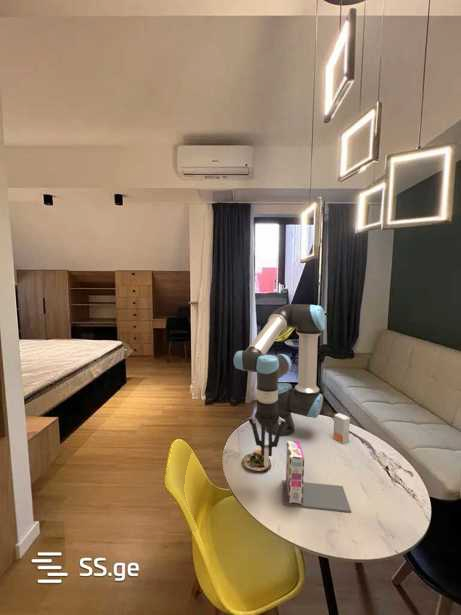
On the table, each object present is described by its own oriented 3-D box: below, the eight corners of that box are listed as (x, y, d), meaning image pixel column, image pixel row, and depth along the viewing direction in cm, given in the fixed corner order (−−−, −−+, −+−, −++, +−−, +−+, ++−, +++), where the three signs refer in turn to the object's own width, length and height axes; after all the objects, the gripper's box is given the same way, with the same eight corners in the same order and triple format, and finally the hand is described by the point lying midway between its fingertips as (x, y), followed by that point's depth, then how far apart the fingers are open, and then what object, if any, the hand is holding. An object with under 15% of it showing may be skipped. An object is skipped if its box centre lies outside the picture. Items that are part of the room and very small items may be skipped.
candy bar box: (303, 505, 98) (304, 458, 97) (288, 504, 99) (289, 457, 97) (299, 482, 109) (299, 440, 108) (285, 481, 110) (286, 439, 108)
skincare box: (332, 438, 142) (333, 414, 141) (339, 436, 144) (339, 412, 143) (343, 444, 136) (344, 419, 135) (349, 442, 138) (350, 417, 137)
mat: (281, 481, 111) (281, 480, 111) (342, 487, 107) (342, 485, 107) (283, 505, 99) (283, 503, 99) (351, 512, 96) (351, 511, 96)
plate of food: (236, 462, 123) (236, 445, 122) (258, 453, 129) (258, 437, 129) (254, 478, 113) (254, 460, 112) (277, 468, 119) (277, 450, 119)
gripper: (247, 403, 100) (247, 468, 102) (286, 405, 98) (285, 472, 100) (249, 394, 107) (249, 456, 109) (285, 396, 105) (284, 459, 107)
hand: (266, 463), depth 105 cm, fingers closed
